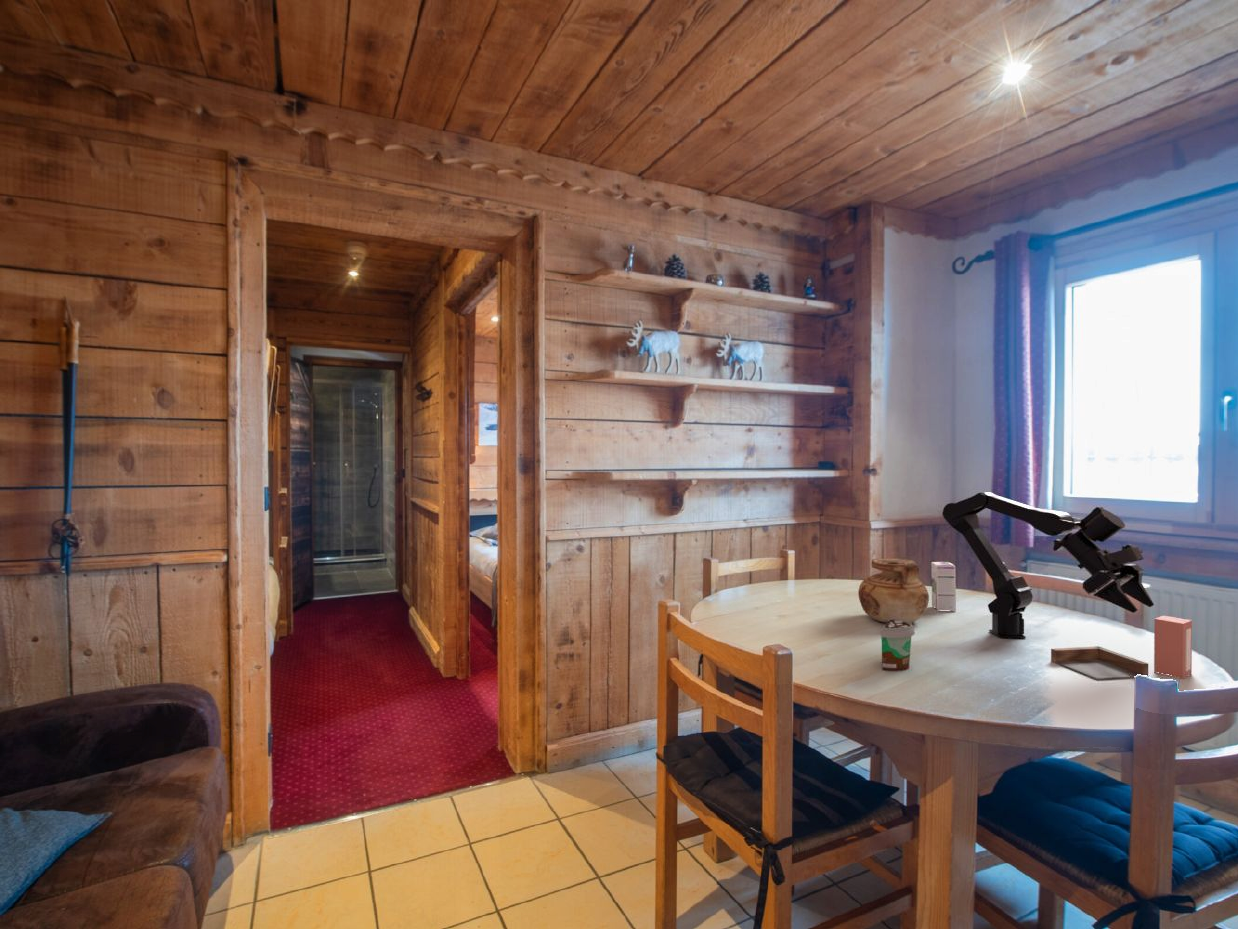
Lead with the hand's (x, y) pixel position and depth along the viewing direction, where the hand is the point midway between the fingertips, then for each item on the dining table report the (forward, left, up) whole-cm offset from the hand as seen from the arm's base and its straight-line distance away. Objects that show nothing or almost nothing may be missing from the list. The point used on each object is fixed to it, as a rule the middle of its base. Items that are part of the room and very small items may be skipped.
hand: (1144, 608), depth 144 cm
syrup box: (-23, +52, -13) cm, 58 cm away
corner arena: (-12, -3, -13) cm, 18 cm away
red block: (+3, -4, -13) cm, 14 cm away
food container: (-55, -3, -13) cm, 57 cm away
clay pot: (-43, +38, -13) cm, 59 cm away
